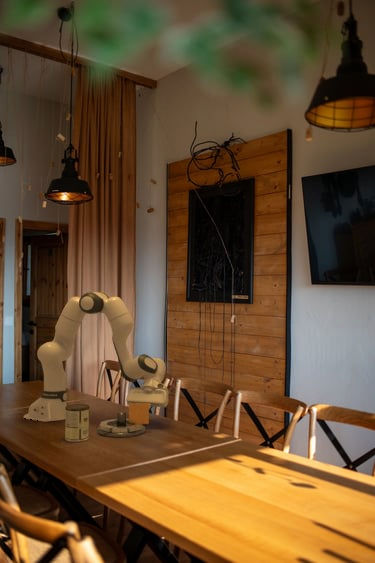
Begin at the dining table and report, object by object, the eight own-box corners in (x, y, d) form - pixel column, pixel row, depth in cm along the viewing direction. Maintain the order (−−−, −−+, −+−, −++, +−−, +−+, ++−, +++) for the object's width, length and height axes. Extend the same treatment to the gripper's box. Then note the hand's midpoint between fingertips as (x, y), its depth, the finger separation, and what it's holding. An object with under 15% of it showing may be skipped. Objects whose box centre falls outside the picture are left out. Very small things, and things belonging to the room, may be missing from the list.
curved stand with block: (98, 432, 238) (98, 407, 238) (102, 422, 257) (103, 399, 257) (148, 432, 239) (148, 407, 239) (148, 422, 258) (149, 399, 258)
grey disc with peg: (88, 435, 240) (88, 416, 241) (109, 424, 261) (109, 406, 262) (134, 439, 234) (134, 419, 234) (152, 428, 255) (152, 409, 255)
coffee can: (69, 435, 240) (69, 403, 240) (91, 436, 239) (92, 404, 239) (61, 441, 230) (62, 408, 230) (85, 442, 229) (85, 408, 229)
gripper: (129, 383, 263) (120, 407, 253) (169, 385, 257) (161, 410, 247) (132, 390, 267) (124, 414, 257) (171, 393, 261) (164, 418, 251)
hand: (143, 412), depth 252 cm, fingers closed
